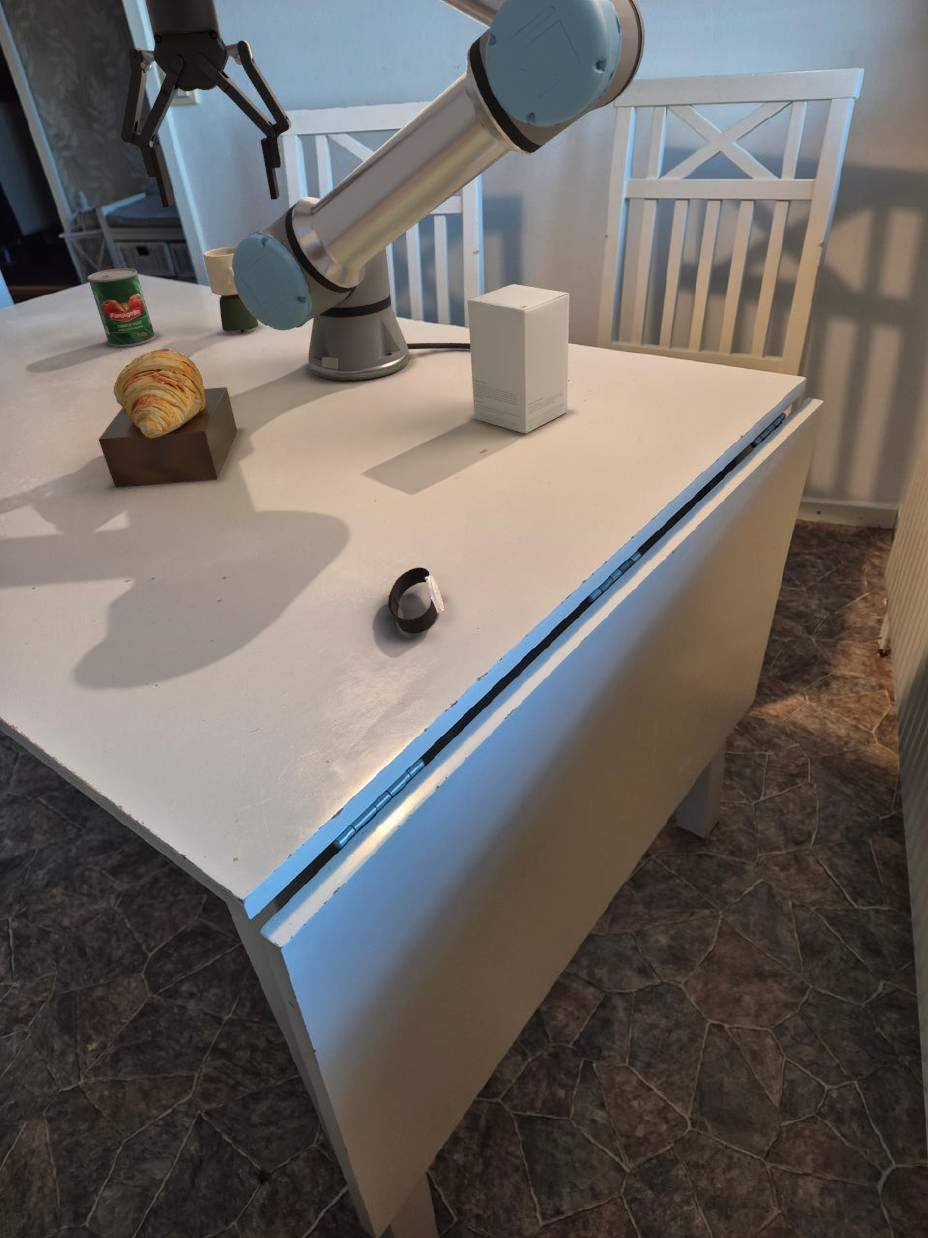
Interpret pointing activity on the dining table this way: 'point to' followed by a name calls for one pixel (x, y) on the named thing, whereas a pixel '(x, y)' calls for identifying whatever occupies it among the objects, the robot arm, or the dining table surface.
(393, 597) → the watch
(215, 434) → the walnut block
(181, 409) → the croissant
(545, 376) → the white product box
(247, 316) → the character mug
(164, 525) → the dining table surface
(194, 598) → the dining table surface
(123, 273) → the canned tomato
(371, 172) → the robot arm
